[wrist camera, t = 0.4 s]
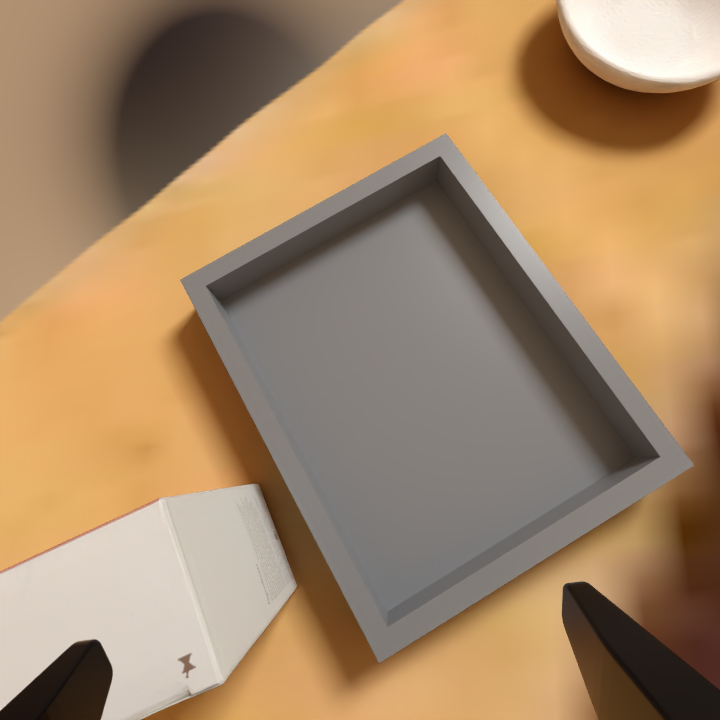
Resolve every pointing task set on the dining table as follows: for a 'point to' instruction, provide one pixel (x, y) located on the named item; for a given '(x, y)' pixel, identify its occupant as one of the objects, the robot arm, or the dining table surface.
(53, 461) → the dining table surface
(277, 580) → the small box
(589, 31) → the spoon rest
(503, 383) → the tray
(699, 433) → the dining table surface
